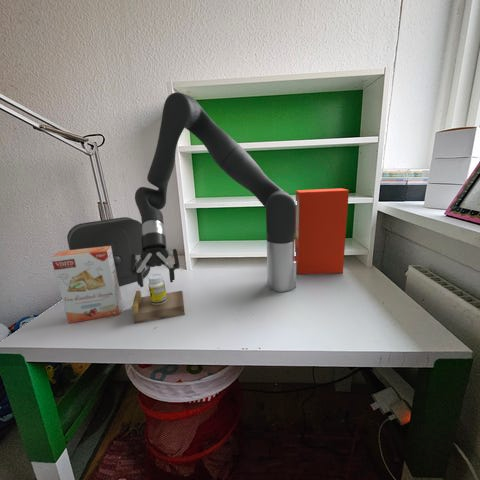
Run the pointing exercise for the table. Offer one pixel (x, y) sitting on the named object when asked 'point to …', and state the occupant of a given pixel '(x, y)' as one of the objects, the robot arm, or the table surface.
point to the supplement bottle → (157, 289)
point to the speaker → (112, 243)
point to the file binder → (320, 230)
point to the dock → (157, 307)
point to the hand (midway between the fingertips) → (156, 283)
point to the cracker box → (88, 283)
